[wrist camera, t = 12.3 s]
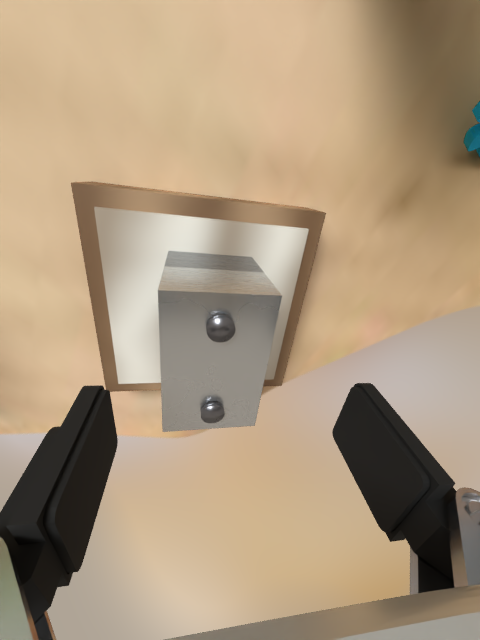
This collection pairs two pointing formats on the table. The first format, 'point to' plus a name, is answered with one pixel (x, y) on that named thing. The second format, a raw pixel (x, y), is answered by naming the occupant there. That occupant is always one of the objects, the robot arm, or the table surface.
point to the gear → (474, 133)
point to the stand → (184, 236)
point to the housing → (214, 339)
